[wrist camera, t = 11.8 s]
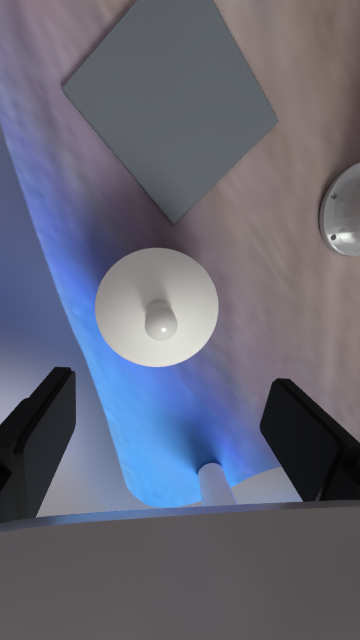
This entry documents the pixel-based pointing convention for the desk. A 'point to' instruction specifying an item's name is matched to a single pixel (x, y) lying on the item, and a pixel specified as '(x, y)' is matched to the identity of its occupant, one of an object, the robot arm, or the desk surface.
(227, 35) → the mat
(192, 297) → the lid
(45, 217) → the desk surface
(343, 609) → the robot arm
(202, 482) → the drinking glass
